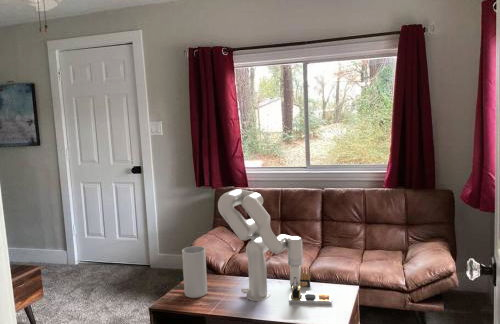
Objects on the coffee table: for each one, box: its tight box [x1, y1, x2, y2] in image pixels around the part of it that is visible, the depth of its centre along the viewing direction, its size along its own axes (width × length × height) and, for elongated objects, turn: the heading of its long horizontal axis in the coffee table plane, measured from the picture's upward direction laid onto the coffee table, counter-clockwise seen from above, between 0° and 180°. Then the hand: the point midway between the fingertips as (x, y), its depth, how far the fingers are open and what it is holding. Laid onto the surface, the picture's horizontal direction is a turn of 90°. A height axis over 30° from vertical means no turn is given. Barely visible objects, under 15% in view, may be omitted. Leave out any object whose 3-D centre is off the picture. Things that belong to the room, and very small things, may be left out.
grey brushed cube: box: [305, 290, 315, 300], centre depth 219 cm, size 4×4×4 cm
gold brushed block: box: [291, 286, 302, 299], centre depth 219 cm, size 4×4×7 cm
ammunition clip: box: [290, 266, 311, 288], centre depth 238 cm, size 11×2×12 cm, turn 80°
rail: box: [288, 293, 332, 306], centre depth 219 cm, size 21×8×3 cm, turn 81°
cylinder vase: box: [181, 245, 208, 299], centre depth 235 cm, size 12×12×25 cm
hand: (296, 293), depth 219 cm, fingers open, 8 cm apart
